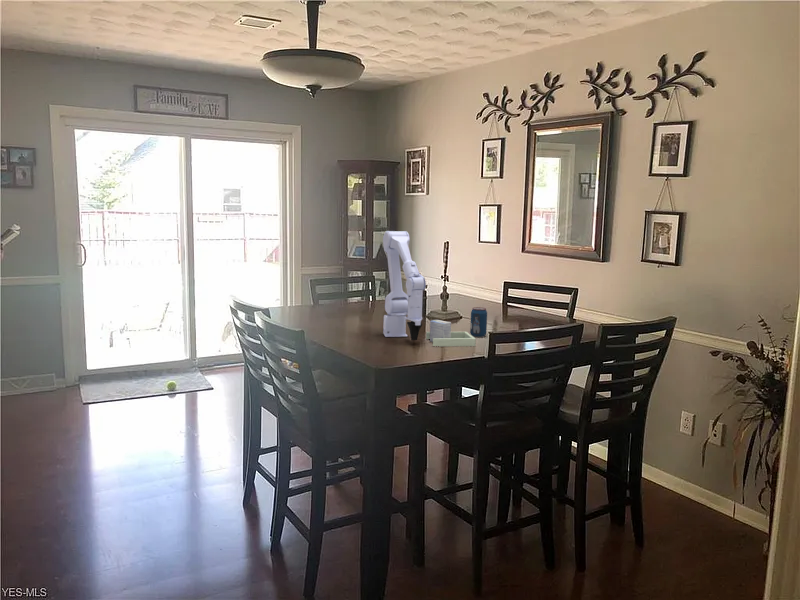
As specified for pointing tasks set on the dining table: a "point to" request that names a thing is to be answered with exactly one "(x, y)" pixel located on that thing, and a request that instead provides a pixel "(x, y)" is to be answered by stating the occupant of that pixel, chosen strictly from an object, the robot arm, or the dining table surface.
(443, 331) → the medicine box
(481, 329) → the soda can
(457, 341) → the bay
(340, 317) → the dining table surface
